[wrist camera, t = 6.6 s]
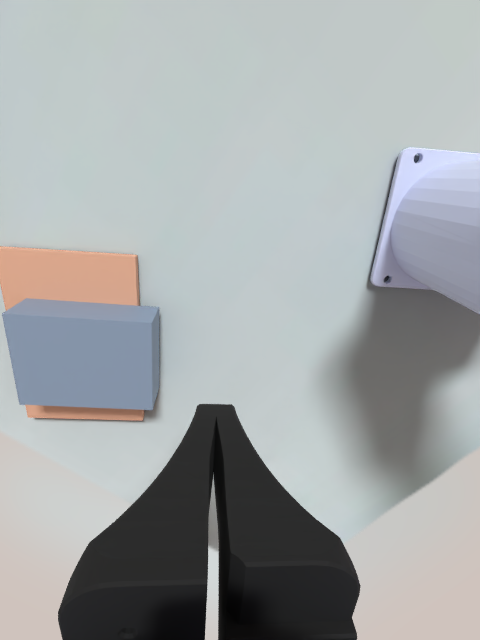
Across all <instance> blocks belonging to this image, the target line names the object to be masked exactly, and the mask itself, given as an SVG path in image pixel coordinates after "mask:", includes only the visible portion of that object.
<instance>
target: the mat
mask: <svg viewBox="0 0 480 640" xmlns="http://www.w3.org/2000/svg"><path fill="white" fill-rule="evenodd" d="M0 284H1V289H2V294H3V299H4V304H5V309H6V311H7V310H8V309H10V308H12V307H13V306H15V305H16V304H18V303H20V302H21V301H23V300H24V299H26V298H30V299H45V300H60V301H75V302H90V303H105V304H120V305H135V306H140V303H139V279H138V256H137V255H131V254H115V253H99V252H83V251H66V250H50V249H34V248H18V247H2V246H0ZM26 410H27V415H28V417H29V418H66V419H103V420H140V421H143V418H144V410H137V409H113V408H90V407H67V406H43V405H26Z"/></svg>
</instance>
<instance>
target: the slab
mask: <svg viewBox="0 0 480 640" xmlns="http://www.w3.org/2000/svg"><path fill="white" fill-rule="evenodd" d="M2 316H3V321H4V327H5V332H6V337H7V342H8V347H9V353H10V358H11V363H12V368H13V373H14V378H15V384H16V389H17V394H18V399H19V404H20V405H43V406H67V407H90V408H113V409H137V410H153V407H154V404H155V400H156V397H157V393H158V390H159V307H150V306H135V305H120V304H105V303H90V302H75V301H60V300H45V299H30V298H26V299H24V300H23V301H21V302H20V303H18V304H16V305H15V306H13V307H12V308H10V309H8V310H7V311H5V312H4V313H2Z"/></svg>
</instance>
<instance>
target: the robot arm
mask: <svg viewBox="0 0 480 640" xmlns="http://www.w3.org/2000/svg"><path fill="white" fill-rule="evenodd" d="M416 154H418V155H419V160H418V162H417V163H415V162H414V156H415V155H416ZM386 276H389V279H388V281H386V282H384V278H385V277H386ZM370 281H371V283H372V284H374V285H375V286H378V287H395V288H412V289H429V290H435V291H437V292H439V293H441V294H443V295H444V296H446V297H448V298H450V299H452V300H454V301H455V302H457V303H459V304H461V305H463V306H465V307H467V308H468V309H470V310H472V311H474V312H476V313H478V314H479V315H480V154H478V153H467V152H456V151H445V150H434V149H423V148H405V149H403V150H402V151H401V152H400V153H399V156H398V159H397V164H396V168H395V172H394V177H393V181H392V185H391V190H390V194H389V198H388V203H387V207H386V212H385V216H384V220H383V225H382V229H381V233H380V238H379V242H378V246H377V251H376V255H375V259H374V264H373V268H372V273H371V277H370ZM213 473H214V485H215V497H216V509H217V521H218V536H219V621H218V622H219V623H218V624H219V625H218V626H219V627H218V628H219V629H218V631H219V632H218V634H219V635H218V640H357V633H356V630H355V627H354V623H353V620H352V615H353V612H354V609H355V606H356V603H357V600H358V597H359V593H360V584H359V580H358V576H357V573H356V570H355V568H354V565H353V563H352V561H351V559H350V557H349V555H348V553H347V551H346V549H345V547H344V545H343V543H342V541H341V539H340V538H339V537H338V536H337V535H336V534H334V533H333V532H332V531H331V530H329V529H328V528H327V527H325V526H324V525H323V524H322V523H320V522H319V521H318V520H316V519H315V518H314V517H313V516H312V515H311V514H309V513H308V512H307V511H306V510H305V509H304V508H303V507H302V506H301V505H300V504H299V503H298V502H297V501H296V500H295V499H294V498H293V497H292V496H291V495H290V494H289V493H288V492H287V491H286V490H285V489H284V488H283V486H282V485H281V484H280V483H279V482H278V481H277V479H276V478H275V477H274V476H273V474H272V473H271V472H270V471H269V469H268V468H267V467H266V465H265V464H264V462H263V461H262V460H261V458H260V457H259V455H258V454H257V452H256V450H255V449H254V447H253V446H252V444H251V442H250V440H249V439H248V437H247V435H246V433H245V431H244V429H243V427H242V425H241V423H240V421H239V419H238V416H237V414H236V411H235V408H234V406H233V405H225V404H200V405H198V406H197V409H196V412H195V415H194V418H193V420H192V422H191V424H190V427H189V429H188V430H187V432H186V434H185V436H184V438H183V440H182V442H181V443H180V445H179V447H178V448H177V450H176V451H175V453H174V454H173V456H172V458H171V459H170V461H169V462H168V463H167V465H166V466H165V468H164V469H163V470H162V472H161V473H160V474H159V475H158V477H157V478H156V479H155V480H154V481H153V483H152V484H151V485H150V486H149V487H148V489H147V490H146V491H145V492H144V493H143V494H142V495H141V496H140V497H139V498H138V499H137V500H136V501H135V502H134V503H133V504H132V505H131V506H130V508H128V509H127V510H126V511H125V512H124V513H123V514H122V515H121V516H120V517H119V518H118V519H117V520H116V521H115V522H114V523H112V524H111V525H110V526H109V527H108V528H106V529H105V530H104V531H103V532H102V533H100V534H99V535H98V536H97V537H96V538H94V539H93V540H92V541H91V542H90V543H89V544H88V546H87V548H86V550H85V551H84V553H83V555H82V556H81V558H80V560H79V562H78V564H77V566H76V568H75V570H74V572H73V574H72V576H71V578H70V581H69V583H68V586H67V589H66V592H65V594H64V597H63V600H62V603H61V605H60V609H59V611H58V621H59V626H60V630H61V634H62V639H63V640H205V621H206V601H207V579H208V577H207V576H208V515H209V506H210V498H211V489H212V480H213Z"/></svg>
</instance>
